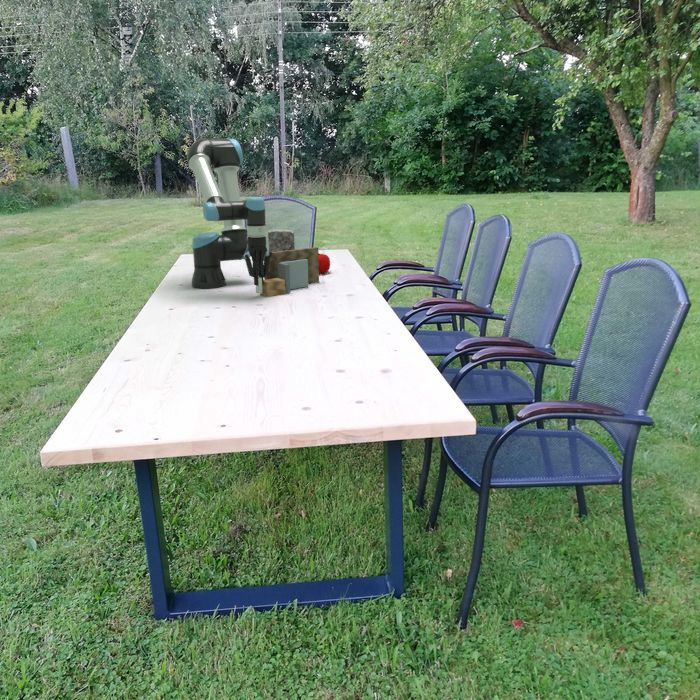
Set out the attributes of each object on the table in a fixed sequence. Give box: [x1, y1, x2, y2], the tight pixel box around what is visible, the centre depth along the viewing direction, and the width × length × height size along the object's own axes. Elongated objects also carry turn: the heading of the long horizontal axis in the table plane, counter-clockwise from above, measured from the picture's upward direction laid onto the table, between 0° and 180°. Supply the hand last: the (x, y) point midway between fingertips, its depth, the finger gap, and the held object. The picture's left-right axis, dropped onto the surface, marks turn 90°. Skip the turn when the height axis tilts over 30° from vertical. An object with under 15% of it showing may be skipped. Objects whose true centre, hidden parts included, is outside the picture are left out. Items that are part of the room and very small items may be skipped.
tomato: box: [319, 252, 331, 275], centre depth 313 cm, size 11×13×10 cm
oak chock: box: [260, 278, 287, 298], centre depth 268 cm, size 9×6×6 cm, turn 128°
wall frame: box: [263, 246, 320, 285], centre depth 283 cm, size 28×2×16 cm, turn 128°
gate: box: [278, 259, 309, 294], centre depth 275 cm, size 15×6×12 cm, turn 128°
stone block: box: [267, 229, 296, 263], centre depth 322 cm, size 13×7×20 cm, turn 96°
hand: (259, 292), depth 265 cm, fingers closed
